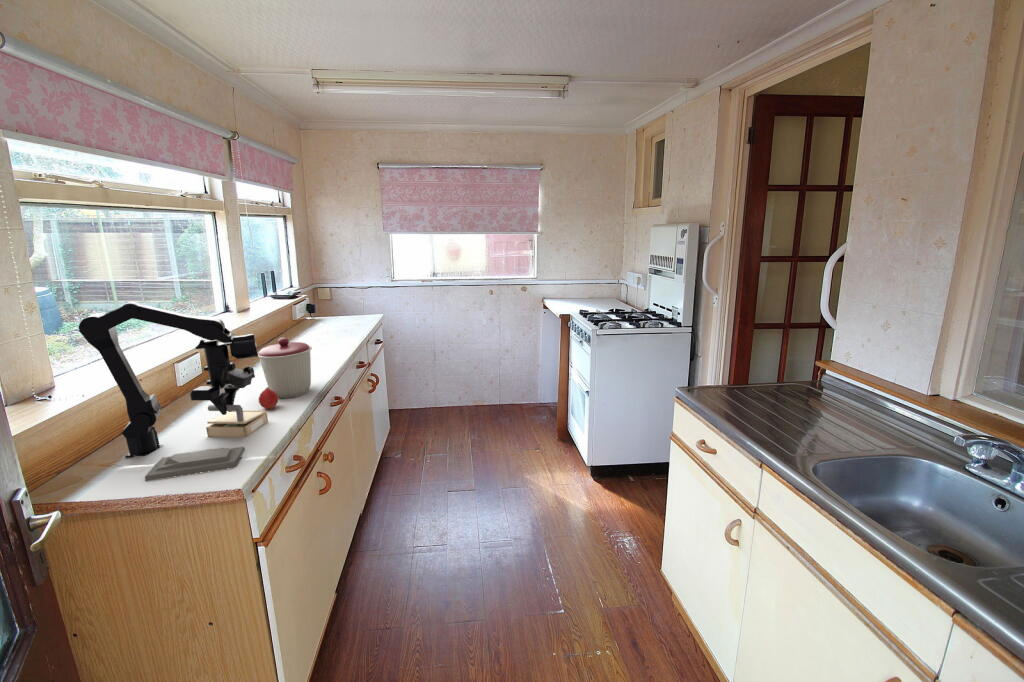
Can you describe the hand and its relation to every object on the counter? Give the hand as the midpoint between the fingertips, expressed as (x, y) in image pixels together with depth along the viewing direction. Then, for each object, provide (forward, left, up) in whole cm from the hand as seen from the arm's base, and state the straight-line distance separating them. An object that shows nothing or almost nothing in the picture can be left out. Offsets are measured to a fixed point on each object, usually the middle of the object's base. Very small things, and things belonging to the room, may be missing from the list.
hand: (227, 413), depth 142 cm
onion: (+20, 0, -7) cm, 21 cm away
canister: (+36, +1, -7) cm, 37 cm away
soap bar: (+4, +1, -7) cm, 7 cm away
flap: (+4, 0, -3) cm, 5 cm away
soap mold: (-18, -3, -8) cm, 20 cm away
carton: (+4, 0, -7) cm, 8 cm away
